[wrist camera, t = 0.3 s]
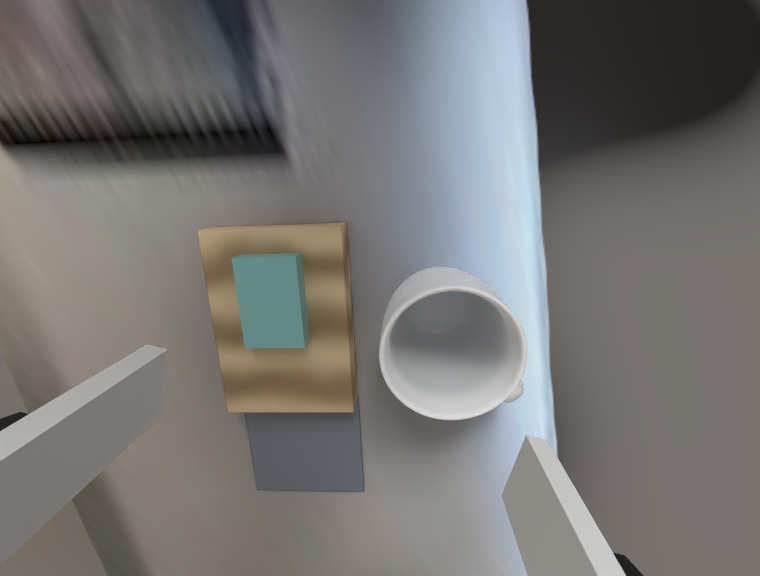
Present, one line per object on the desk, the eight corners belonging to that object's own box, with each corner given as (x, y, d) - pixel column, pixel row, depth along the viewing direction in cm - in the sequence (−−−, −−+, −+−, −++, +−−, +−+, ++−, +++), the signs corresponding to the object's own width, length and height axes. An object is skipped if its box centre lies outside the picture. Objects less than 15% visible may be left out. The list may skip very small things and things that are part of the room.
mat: (243, 392, 43) (242, 394, 43) (357, 392, 42) (357, 394, 42) (258, 487, 47) (257, 490, 46) (364, 489, 46) (363, 491, 45)
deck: (218, 226, 38) (197, 230, 34) (347, 221, 37) (340, 224, 33) (243, 392, 43) (228, 412, 39) (357, 392, 42) (353, 412, 38)
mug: (534, 321, 39) (598, 383, 26) (464, 388, 41) (492, 474, 29) (431, 233, 37) (446, 253, 24) (365, 309, 39) (348, 363, 27)
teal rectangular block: (240, 254, 35) (231, 258, 33) (301, 252, 34) (295, 256, 32) (253, 340, 37) (244, 348, 35) (309, 339, 36) (304, 347, 34)
